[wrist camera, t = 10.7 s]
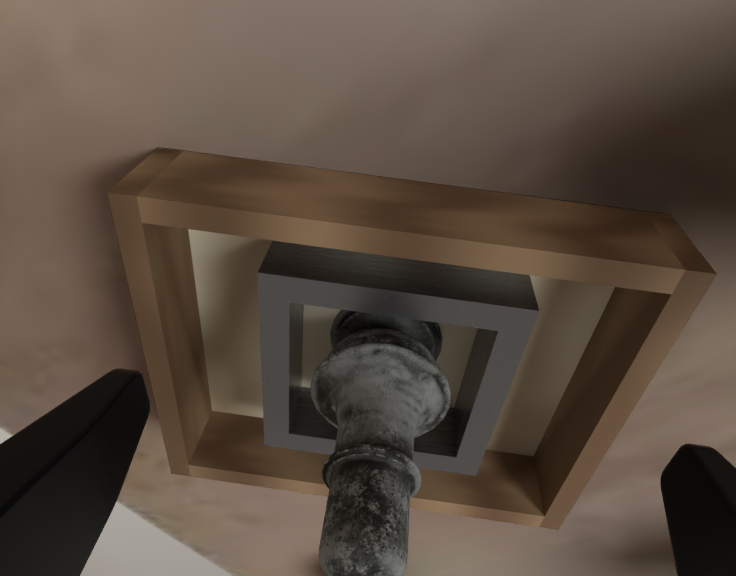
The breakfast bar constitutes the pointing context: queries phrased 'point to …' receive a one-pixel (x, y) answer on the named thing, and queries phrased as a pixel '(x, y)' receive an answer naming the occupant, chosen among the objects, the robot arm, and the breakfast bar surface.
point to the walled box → (448, 246)
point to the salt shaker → (375, 436)
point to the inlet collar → (397, 299)
